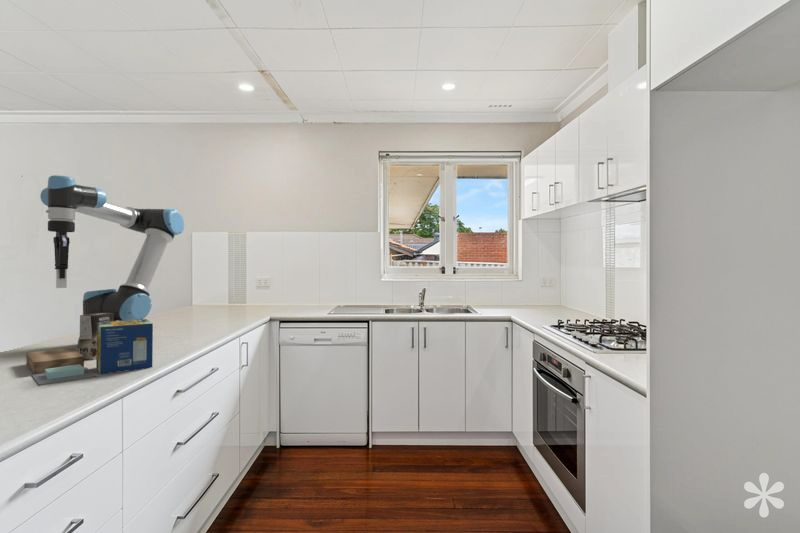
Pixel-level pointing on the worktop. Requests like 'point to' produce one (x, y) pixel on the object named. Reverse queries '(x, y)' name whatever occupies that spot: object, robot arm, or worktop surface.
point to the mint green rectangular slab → (64, 371)
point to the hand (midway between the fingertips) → (61, 287)
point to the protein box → (124, 345)
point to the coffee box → (91, 332)
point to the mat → (43, 380)
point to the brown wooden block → (53, 359)
